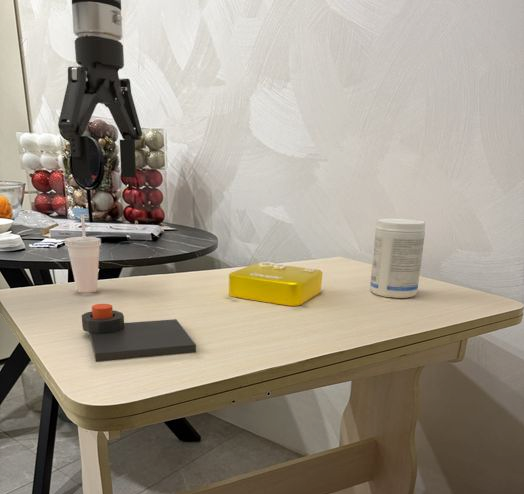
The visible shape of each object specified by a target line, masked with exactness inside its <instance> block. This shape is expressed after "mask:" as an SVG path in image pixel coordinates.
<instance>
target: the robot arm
mask: <svg viewBox="0 0 524 494" xmlns="http://www.w3.org/2000/svg"><path fill="white" fill-rule="evenodd" d="M71 11H72V12H71V14H72V31H73V34H74V35H75V36H76V38H75V40H74V52H75V53H74V55H75V62H76V64H77V65H78V66H68V67H67V84H66V88H65V92H64V97H63V101H62V104H61V105H62V106H61V110H60V114H59V117H58V118H59V119H58V123H57V126H58V129H59V130H61V131H62V134H63V135H64V136H69V148H70V155H71V157H72V169H73V179H75V180H76V179H77V180H92V179H91V178H92V177H91V162H90V147H89V136H87V135H84V134H85V132H86V129H87V128H88V125H89V123H90V120H91V119H92V116H93V114H94V111H95V110H96V107H97V105H98V104H101V105H104V106H105V107H106V108H107V109H108V110H109V112H110V114H111V116H112V118H113V121H114V123H115V125H116V127H117V129H118V132H119V133H120V135H121V138H122V139H119V158H120V178H130V179H131V178H133V179H137V165H136V141H140V140H141V138H142V136H143V130H142V127H141V123H140V119H139V116H138V112H137V109H136V105H135V102H134V98H133V93H132V86H131V79H130V78H120V77H119V71H120V70H122V69H123V68H124V67H125V55H124V45H123V43H122V42H121V40H122V39H123V23H122V22H123V16H122V0H71Z"/></svg>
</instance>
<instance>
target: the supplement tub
mask: <svg viewBox="0 0 524 494" xmlns="http://www.w3.org/2000/svg"><path fill="white" fill-rule="evenodd" d="M425 236H426V221H423V220H420V219H419V220H418V219H410V218H379V219H377V220H376V226H375V232H374V241H373V242H374V243H373V253H372V264H371V273H370V275H371V276H370V286H369V289H370V291H371V293H373V294H374V295H377V296H380V297H384V298H394V299H408V298H412V297H414V296H416V295H417V293H418V289H419V281H420V273H421V268H422V259H423V251H424V244H425Z"/></svg>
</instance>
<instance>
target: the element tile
mask: <svg viewBox="0 0 524 494" xmlns="http://www.w3.org/2000/svg"><path fill="white" fill-rule="evenodd" d="M322 283H323V271H322V270H321V269H316V268H310V267H309V268H308V267H300V266H294V265H293V266H292V265H286V264H276V263H275V262H269V261H263V262H256V263H253V264H251V265H247V266H245V267H243V268H239V269H237V270H234V271H232V272H230V273H229V274H228V295H229V296H230V297H232V298H236V299H243V300H250V301H255V302H256V301H257V302H261V303H267V304H268V303H269V304H276V305H281V306H287V307H289V306H290V307H298V306H301V305H303V304H305V303H306V302H308V301H309V300H311V299H312V298H314V297H315V296H317V295H319V294H320V293H321V291H322Z"/></svg>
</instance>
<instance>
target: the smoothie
mask: <svg viewBox="0 0 524 494" xmlns="http://www.w3.org/2000/svg"><path fill="white" fill-rule="evenodd" d="M80 221H81V233H82V236H71V237H67V238H64V242H65V243H64V245H65V246H66V248H67V252H68V256H69V260H70V267H71V271H72V275H73V280H74V285H75V289H76V292H77V293H85V294H87V293H88V294H89V293H94V292H97V291H98V284H99V283H98V281H99V265H100V264H99V263H100V247H101V245H102V238H100V237H96V236H95V237H94V236H86V221H85V214H80Z"/></svg>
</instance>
